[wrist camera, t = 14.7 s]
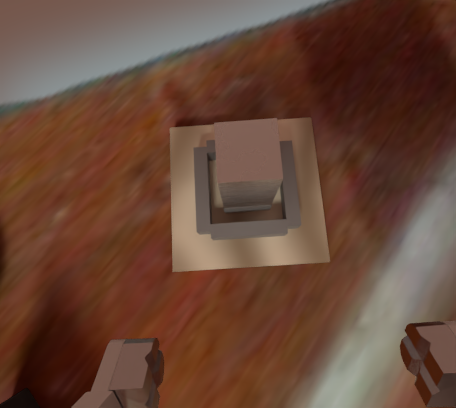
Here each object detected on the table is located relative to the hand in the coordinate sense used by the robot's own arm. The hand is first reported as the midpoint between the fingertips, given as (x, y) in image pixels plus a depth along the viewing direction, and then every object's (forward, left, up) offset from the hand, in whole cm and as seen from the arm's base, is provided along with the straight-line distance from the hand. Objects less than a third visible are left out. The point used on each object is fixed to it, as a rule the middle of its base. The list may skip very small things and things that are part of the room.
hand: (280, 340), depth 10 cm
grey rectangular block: (0, -10, -17) cm, 19 cm away
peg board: (0, -10, -18) cm, 21 cm away
